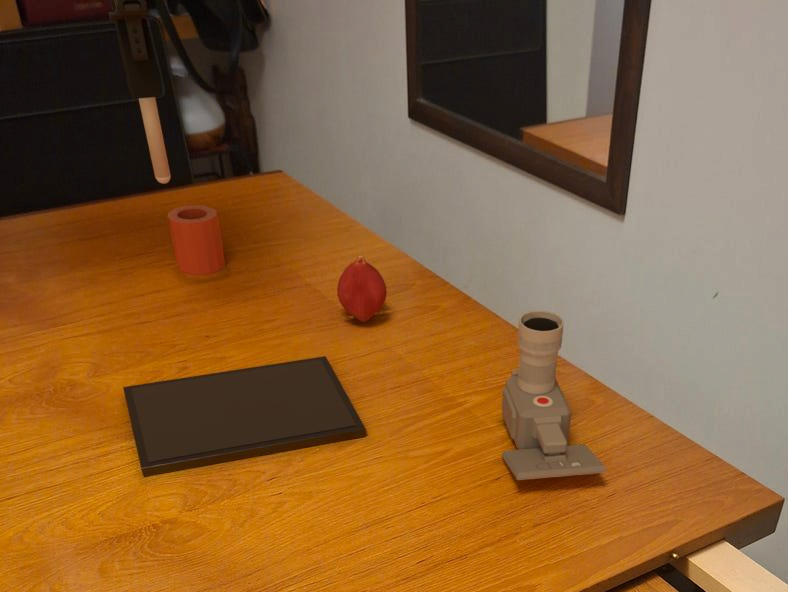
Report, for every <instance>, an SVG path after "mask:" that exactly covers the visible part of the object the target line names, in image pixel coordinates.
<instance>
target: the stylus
mask: <svg viewBox="0 0 788 592" xmlns="http://www.w3.org/2000/svg"><path fill="white" fill-rule="evenodd" d="M138 103H139V107H140V108H139V109H140V112H141V117H142V121H143V127H144V130H145V135H146V140H147V145H148V150H149V155H150V161H151V164H152V169H153V174H154V177H155V180H156V181H157V182H158V183H160V184H162V185H164V184H168V183H169V182H170V180H171V176H172V175H171V170H170V166H169V161H168V156H167V150H166V144H165V139H164V135H163V131H162V125H161V119H160V115H159V110H158V105H157V100H156V97H151V98H138Z"/></svg>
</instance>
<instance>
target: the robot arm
mask: <svg viewBox="0 0 788 592" xmlns="http://www.w3.org/2000/svg"><path fill="white" fill-rule="evenodd" d="M109 5H110V6H109V7H111V8H112V11H108V17H109V20H110V22H114V25H115V30H116V35H117V39H118V44H119V48H120V49H119V50H120V54H121V57H122V62H123V67H124V72H125V75H126V76H125V77H126V80H127V85H128V90H129V93H130V94H131V96H132V99H134V100H135V99H136V100H139V98H151V97H155V98H162V91H161V85H160V81H159V75H158V71H157V65H156V60H155V56H154V55H155V54H154V49H153V46H152V40H151V35H150V30H149V24H148V19H147V15H148V13H149V12H148V10H149V7H148V4H147V1H146V0H109Z"/></svg>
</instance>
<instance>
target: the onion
mask: <svg viewBox="0 0 788 592" xmlns="http://www.w3.org/2000/svg"><path fill="white" fill-rule="evenodd" d="M336 291H337V293H336V294H337V298H338V301H339V303H340V304H341V306H342V307H343V309H344V310H345V312H347V313H348V314H349V315H351V316H352V317H354V318H355V319H357V320H358V321H359V322H361V323H366V322H368V321H370V320H371V318H373V316H375V315H376V314H377V313H378V312H379V311H380V310H381V309H382V307H384V304H385V302H386V299H387V294H388V293H387V285H386V282H385V279H384V278H383V276H382V275H381V273H380V271H378V269H377V268H376V267H375V266H373V265H372V264H370V263H369V262H367V261H366V259H365V256H364V255H358V256H356V259H355V260H354V261H353V262H351V263H349V265H348V266H347V267H345V268H344V270H343V271H342V273H341V275H340V276H339V279H338V283H337V287H336Z"/></svg>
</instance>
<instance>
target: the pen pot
mask: <svg viewBox="0 0 788 592" xmlns="http://www.w3.org/2000/svg"><path fill="white" fill-rule="evenodd" d="M218 217H219V216H218V212H217V211H216V209H214V208H213V207H210V206H207V205H199V204H198V205H197V204H191V205H184V206H179V207H176V208H175V207H174V208H173V209H172V210H170V211H169V212H168V213H167V221H168V226H169V231H170V236H171V240H172V246H173V252H174V256H175V261H176V264H177V268H178V270H179V271H180V272H182V273H184V274H187V275H191V276H205V275H211V274H214V273H218V272H219V271H221V270H223V269H224V268H225V266H226V260H225V253H224V247H223V241H222V235H221V229H220V223H219V218H218Z"/></svg>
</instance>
